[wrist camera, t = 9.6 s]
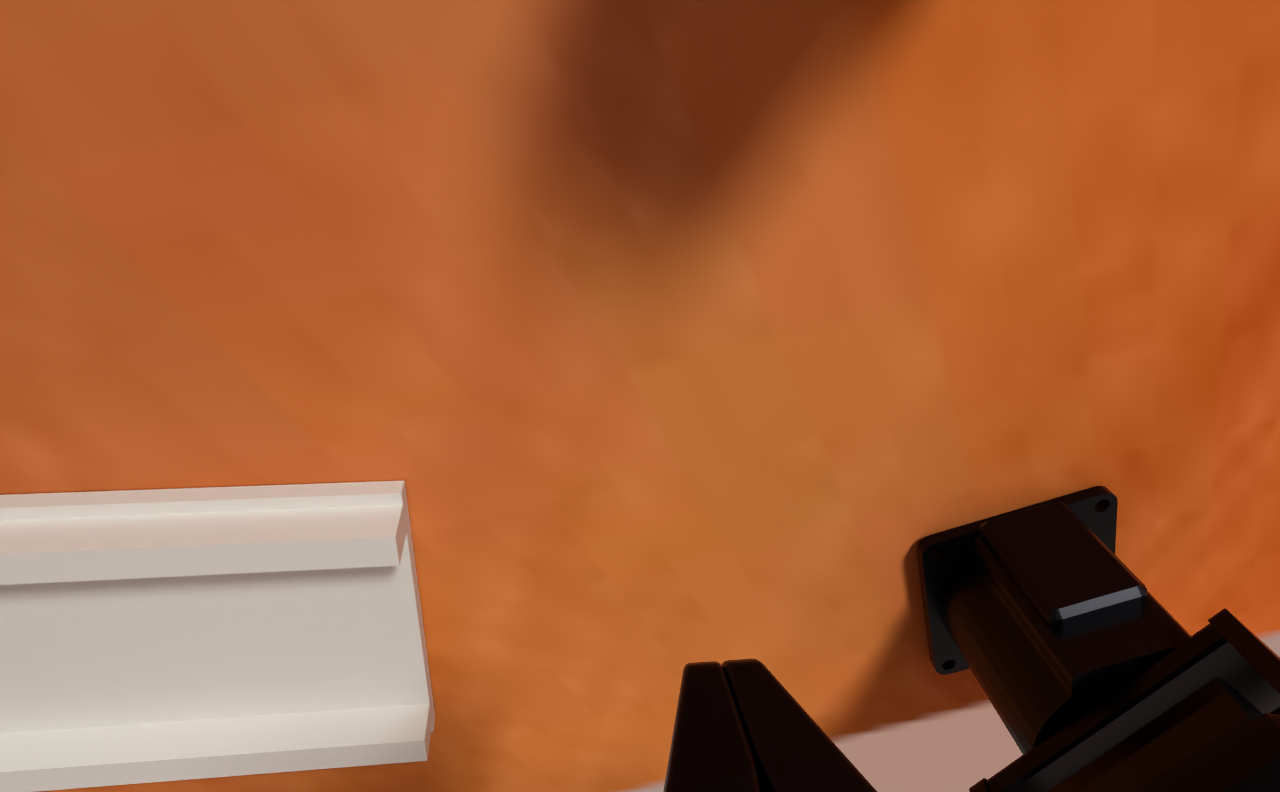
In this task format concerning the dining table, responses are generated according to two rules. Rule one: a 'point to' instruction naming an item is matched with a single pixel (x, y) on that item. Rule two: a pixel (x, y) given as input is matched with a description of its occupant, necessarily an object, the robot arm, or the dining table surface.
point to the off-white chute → (208, 634)
